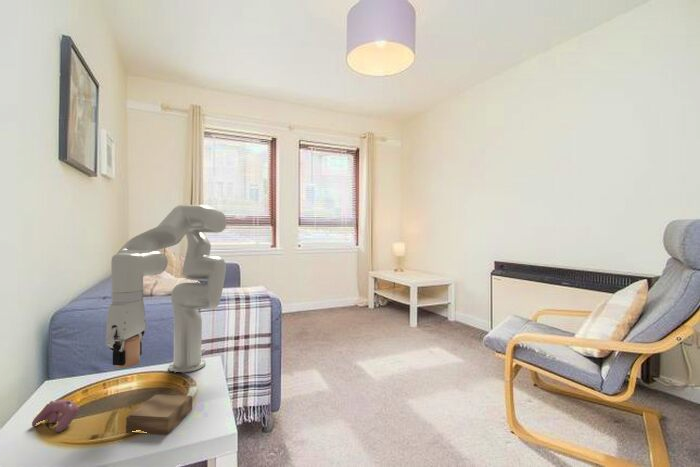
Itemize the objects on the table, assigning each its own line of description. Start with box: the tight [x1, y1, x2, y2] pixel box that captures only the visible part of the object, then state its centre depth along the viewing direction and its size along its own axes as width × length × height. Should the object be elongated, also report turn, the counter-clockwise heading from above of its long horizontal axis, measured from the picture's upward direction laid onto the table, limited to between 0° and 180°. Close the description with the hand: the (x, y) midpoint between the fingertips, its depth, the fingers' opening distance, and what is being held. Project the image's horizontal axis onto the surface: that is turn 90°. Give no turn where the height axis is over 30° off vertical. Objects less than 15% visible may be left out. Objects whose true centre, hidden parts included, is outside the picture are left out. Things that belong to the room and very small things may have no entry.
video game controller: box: [31, 399, 80, 433], centre depth 91 cm, size 10×5×7 cm, turn 75°
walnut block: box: [125, 394, 193, 436], centre depth 94 cm, size 12×11×4 cm
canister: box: [114, 335, 141, 369], centre depth 97 cm, size 6×6×7 cm
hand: (127, 359), depth 97 cm, fingers closed on canister, 6 cm apart
